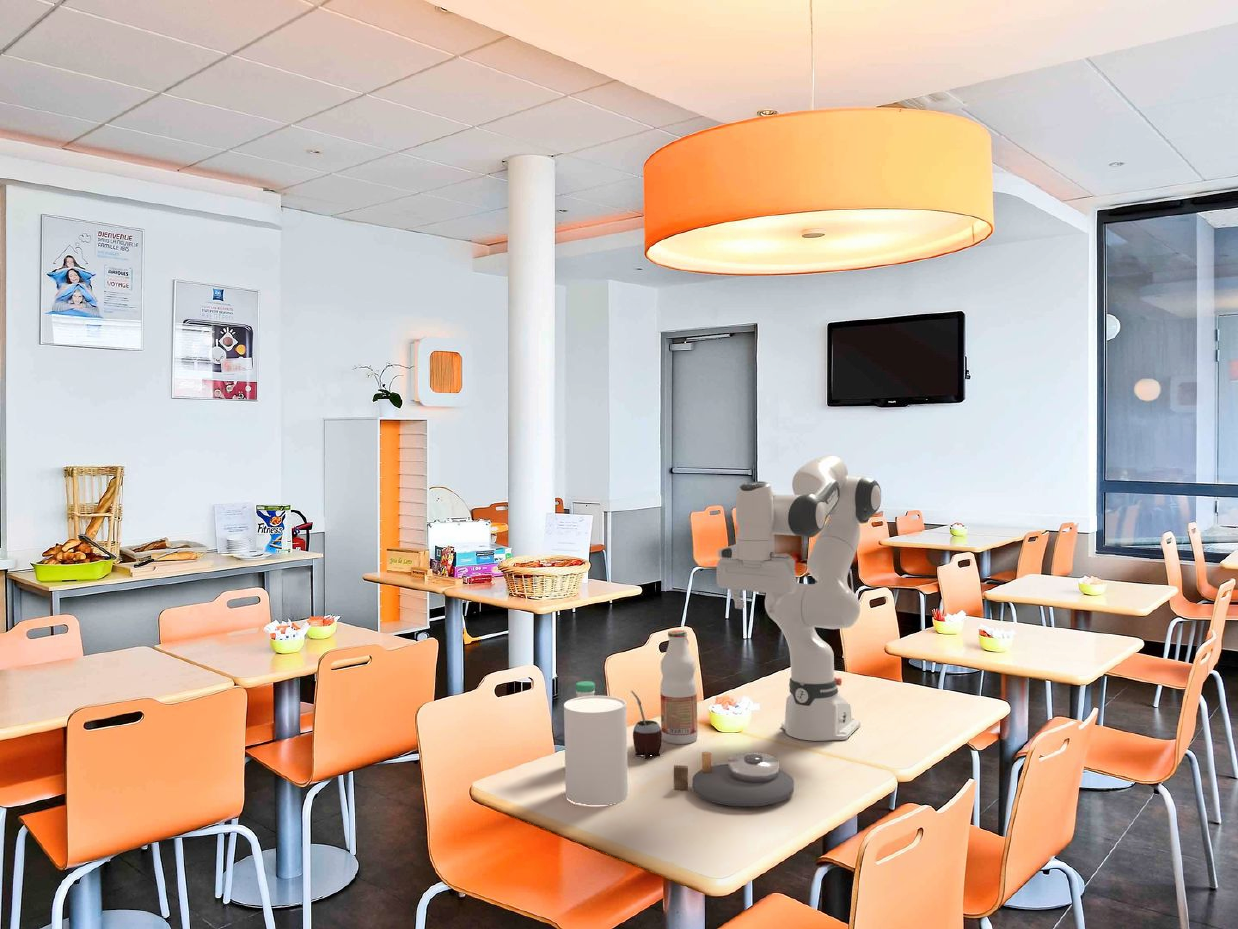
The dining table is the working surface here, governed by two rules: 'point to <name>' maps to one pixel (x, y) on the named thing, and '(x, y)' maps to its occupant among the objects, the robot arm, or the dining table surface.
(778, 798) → the turntable
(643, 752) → the mate gourd
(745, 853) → the dining table surface
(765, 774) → the cover
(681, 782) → the brown wooden block
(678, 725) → the fruit juice
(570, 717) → the canister
